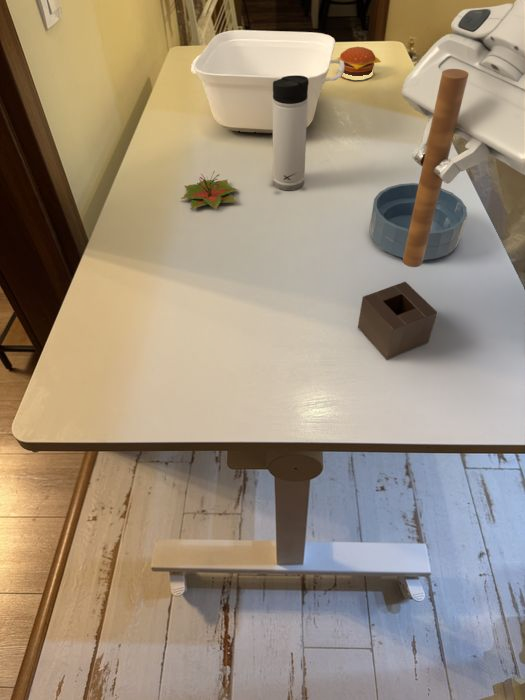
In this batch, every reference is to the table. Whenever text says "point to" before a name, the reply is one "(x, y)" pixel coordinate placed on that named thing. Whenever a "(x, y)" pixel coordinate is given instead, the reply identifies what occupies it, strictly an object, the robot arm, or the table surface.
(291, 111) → the travel mug
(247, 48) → the white plastic tub
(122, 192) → the table surface
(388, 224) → the bowl
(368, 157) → the table surface
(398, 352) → the holder
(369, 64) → the hamburger
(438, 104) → the stirring stick
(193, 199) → the lily flower
